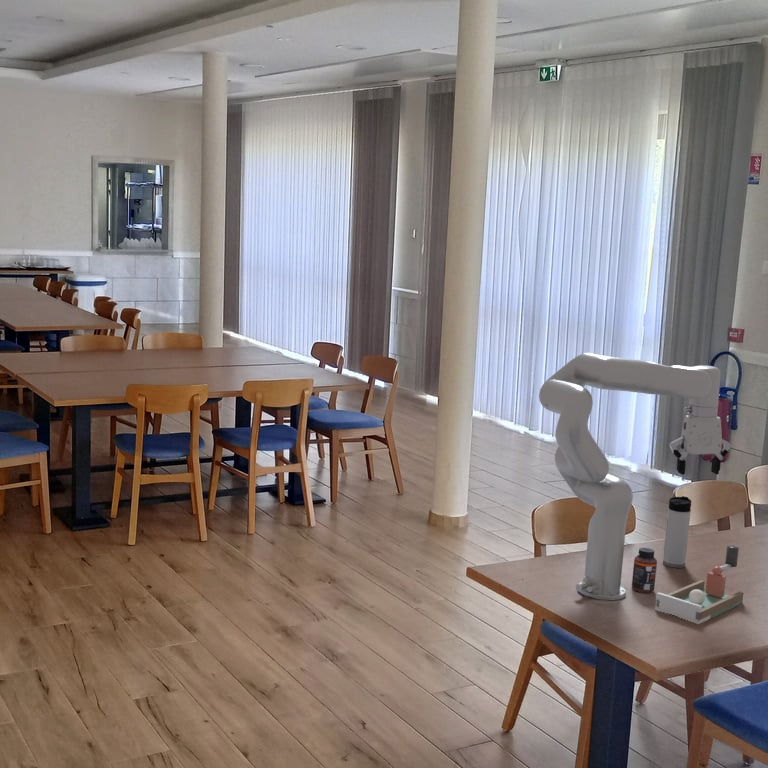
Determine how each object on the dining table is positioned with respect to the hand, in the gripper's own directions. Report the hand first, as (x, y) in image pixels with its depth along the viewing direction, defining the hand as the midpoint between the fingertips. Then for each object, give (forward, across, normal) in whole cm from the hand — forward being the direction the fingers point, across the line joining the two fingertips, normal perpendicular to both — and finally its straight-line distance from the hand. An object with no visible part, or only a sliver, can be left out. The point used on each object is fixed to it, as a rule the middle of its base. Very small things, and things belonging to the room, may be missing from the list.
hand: (698, 473), depth 280 cm
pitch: (+31, -5, -18) cm, 36 cm away
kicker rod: (+30, +4, -11) cm, 32 cm away
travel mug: (+32, +2, +16) cm, 35 cm away
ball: (+28, -7, -20) cm, 35 cm away
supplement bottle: (+31, -16, -6) cm, 35 cm away
